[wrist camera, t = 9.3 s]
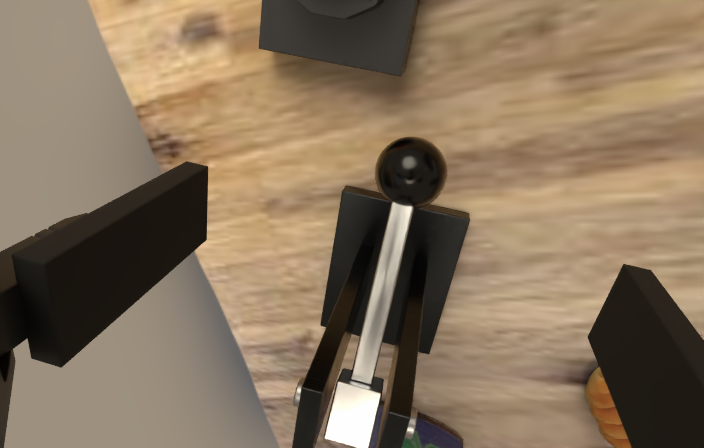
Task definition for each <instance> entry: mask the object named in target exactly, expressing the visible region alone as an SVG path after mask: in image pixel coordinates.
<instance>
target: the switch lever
mask: <svg viewBox="0 0 704 448" xmlns="http://www.w3.org/2000/svg"><path fill="white" fill-rule="evenodd" d="M446 179H447V165H446V161H445V159H444V156H443V155H442V153H441V152H440V150H439V149H438V148H437V147H436V146H435V145H434V144H433V143H431V142H429V141H428V140H425V139H423V138H419V137H404V138H400V139H398V140H395V141H394V142H392V143H390V144H389V145H388V146H387V147H386V148H385V149H384V150H383V151H382V152H381V154H380V155H379V157H378V160H377V163H376V167H375V180H376V184H377V187H378V189H379V191H380V193H381V194H382V195H383V197H384V198H385V199H386V200H388V201H389V202H390V203H392V205H391V209H390V213H389V217H388V222H387V226H386V230H385V234H384V239H383V243H382V247H381V251H380V255H379V260H378V264H377V268H376V272H375V276H374V281H373V285H372V289H371V293H370V297H369V302H368V306H367V310H366V314H365V318H364V323H363V327H362V331H361V335H360V339H359V344H358V348H357V352H356V356H355V360H354V365H353V369H352V370H349V369H345V368H344V369H343V370H342V372H341V374H340V376H339V379H338V381H337V384H336V388H335V392H334V396H333V400H332V404H331V409H330V413H329V417H328V421H327V425H326V430H325V434H324V438H325V439H327V440H331V441H334V442H338V443H341V444H344V445H348V446H351V447H355V448H369V447H370V443H371V439H372V434H373V430H374V426H375V422H376V417H377V413H378V409H379V405H380V400H381V396H382V390H383V382H384V380H383V379H381V378H378V377H374V374H375V370H376V366H377V361H378V357H379V353H380V349H381V345H382V340H383V336H384V332H385V328H386V323H387V319H388V315H389V311H390V307H391V302H392V298H393V294H394V290H395V285H396V281H397V277H398V273H399V268H400V264H401V260H402V256H403V252H404V247H405V243H406V239H407V235H408V230H409V226H410V222H411V218H412V214H413V209H416V208H420V207H423V206H426V205H428V204H430V203H431V202H433V201H434V200H435V199H436V198H437V197H438V196H439V195H440V193H441V192H442V190H443V188H444V186H445V183H446Z"/></svg>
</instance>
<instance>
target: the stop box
mask: <svg viewBox="0 0 704 448" xmlns="http://www.w3.org/2000/svg"><path fill="white" fill-rule="evenodd" d="M418 3H419V0H262V10H261V25H260V39H259V49H264V50H269V51H274V52H279V53H284V54H289V55H294V56H299V57H305V58H310V59H315V60H320V61H325V62H330V63H335V64H340V65H345V66H350V67H355V68H360V69H366V70H371V71H376V72H381V73H386V74H391V75H396V76H401V75H402V74H403V73H404V72H405V67H406V63H407V58H408V53H409V48H410V43H411V38H412V33H413V28H414V23H415V18H416V13H417V8H418Z"/></svg>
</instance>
